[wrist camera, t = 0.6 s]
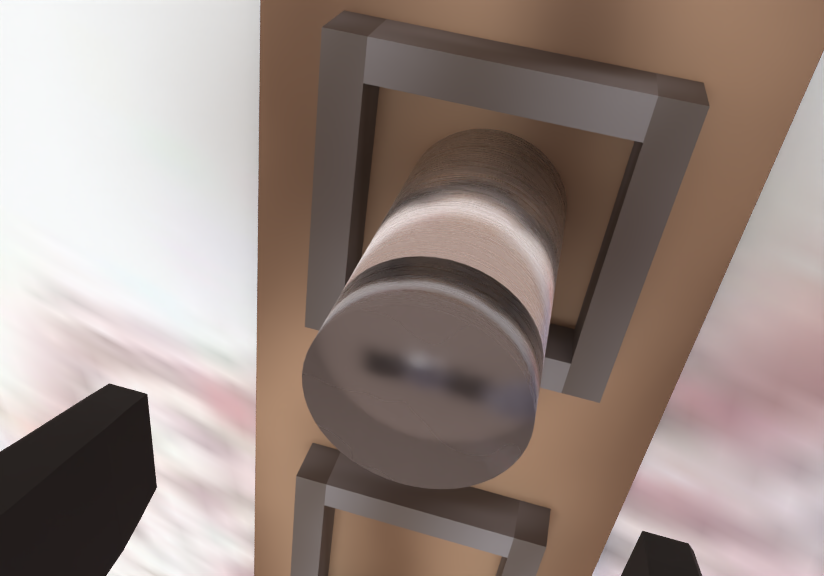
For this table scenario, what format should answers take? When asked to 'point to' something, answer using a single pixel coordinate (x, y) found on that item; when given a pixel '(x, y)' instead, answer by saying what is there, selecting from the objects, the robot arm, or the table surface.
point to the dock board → (580, 253)
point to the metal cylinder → (446, 318)
